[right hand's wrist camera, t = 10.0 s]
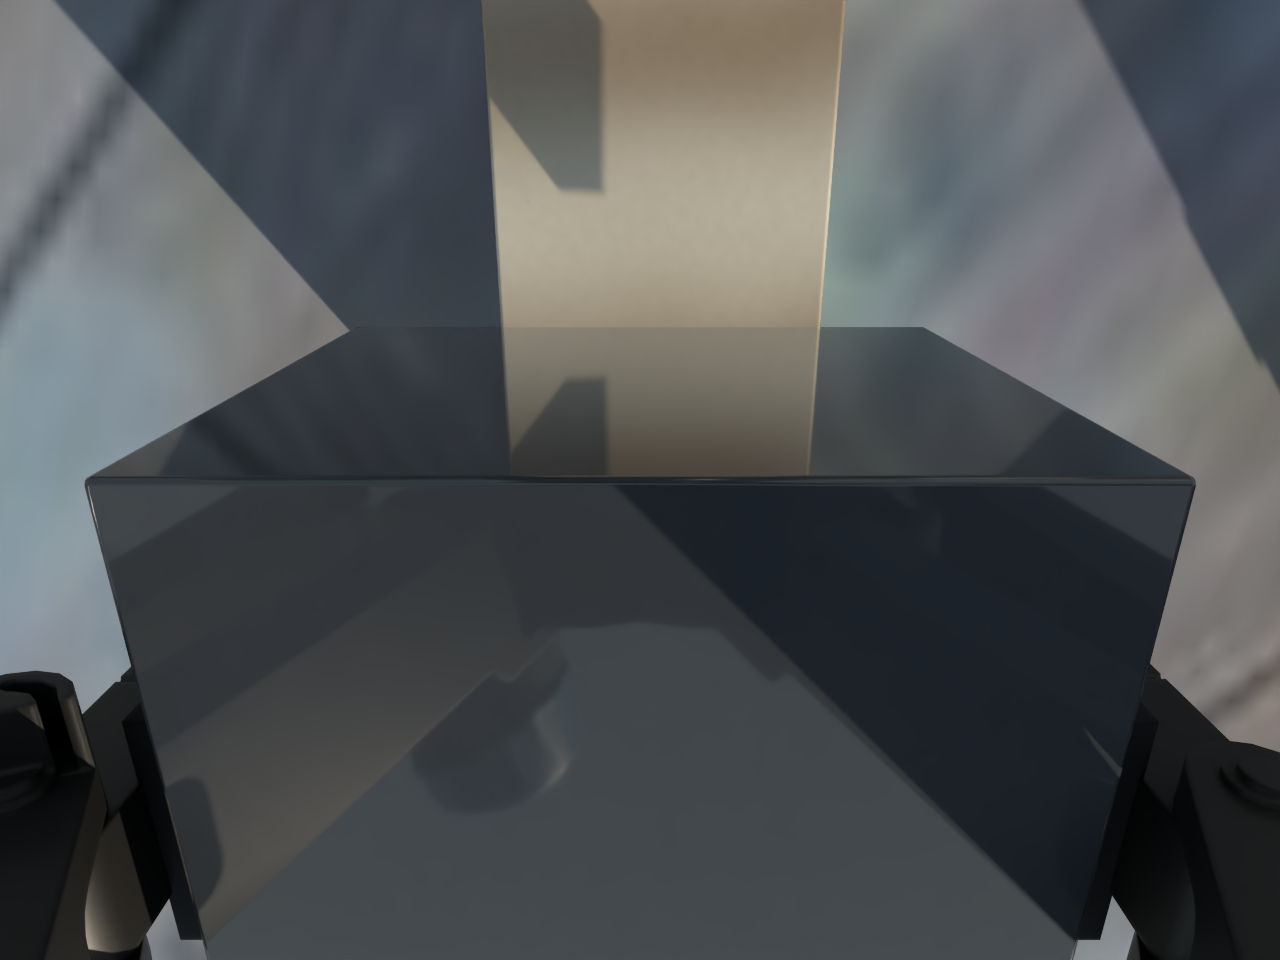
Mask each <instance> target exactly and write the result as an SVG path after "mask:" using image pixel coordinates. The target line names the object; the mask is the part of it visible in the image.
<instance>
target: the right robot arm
mask: <svg viewBox="0 0 1280 960" xmlns="http://www.w3.org/2000/svg"><path fill="white" fill-rule="evenodd" d="M1112 896H1113V897H1114V899H1115V900H1116V902H1117V903H1118V905H1119V906H1120V908H1121V910H1122V911H1123V913H1124V914H1125V916H1126V917H1127V919H1128V920H1129V922H1130V923H1131V925H1132V926H1133V928H1134V930H1135V932H1134V936H1133V939H1132V943H1131V946H1130V950H1129V953H1128V957H1127V960H1280V752H1276V751H1273V750H1270V749H1267V748H1263V747H1260V746H1257V745H1254V744H1249V743H1241V742H1233V741H1229V740H1228V739H1227V738H1226V737H1225V736H1224V735H1223V734H1222V733H1221V732H1220V731H1219V730H1218V729H1217V728H1216V727H1215V726H1214V725H1213V724H1212V723H1211V722H1210V721H1209V720H1208V719H1206V718H1205V717H1204V716H1203V715H1202V714H1201V713H1200V712H1199V711H1198V710H1197V709H1196V708H1195V707H1194V706H1193V705H1192V704H1191V703H1190V702H1189V701H1188V700H1187V699H1186V698H1185V697H1184V696H1183V695H1182V694H1181V693H1180V692H1179V691H1178V690H1177V689H1176V688H1175V687H1173V686H1172V685H1171V684H1170V683H1169V682H1168V681H1167V680H1166V679H1161V677H1160V673H1159V672H1158V671H1157V670H1156V669H1155V668H1154V667H1153V666H1152V665H1151V664H1149V668H1148V672H1147V676H1146V680H1145V683H1144V687H1143V691H1142V695H1141V699H1140V703H1139V707H1138V710H1137V714H1136V718H1135V722H1134V726H1133V730H1132V734H1131V737H1130V741H1129V745H1128V749H1127V753H1126V757H1125V761H1124V764H1123V768H1122V772H1121V776H1120V780H1119V784H1118V788H1117V791H1116V795H1115V799H1114V803H1113V807H1112V811H1111V815H1110V818H1109V822H1108V826H1107V830H1106V834H1105V838H1104V842H1103V845H1102V849H1101V853H1100V857H1099V861H1098V865H1097V869H1096V872H1095V876H1094V880H1093V884H1092V888H1091V892H1090V896H1089V899H1088V903H1087V907H1086V911H1085V915H1084V919H1083V923H1082V926H1081V930H1080V934H1079V938H1078V940H1100V938H1101V934H1102V931H1103V927H1104V923H1105V920H1106V916H1107V912H1108V909H1109V905H1110V901H1111V897H1112ZM168 899H170V902H171V906H172V910H173V914H174V917H175V921H176V925H177V928H178V932H179V936H180V939H181V940H202V937H201V933H200V929H199V925H198V921H197V917H196V913H195V910H194V906H193V902H192V898H191V894H190V890H189V886H188V883H187V879H186V875H185V871H184V867H183V863H182V859H181V856H180V852H179V848H178V844H177V840H176V836H175V833H174V829H173V825H172V821H171V817H170V813H169V809H168V806H167V802H166V798H165V794H164V790H163V786H162V782H161V779H160V775H159V771H158V767H157V763H156V759H155V755H154V752H153V748H152V744H151V740H150V736H149V732H148V728H147V725H146V721H145V717H144V713H143V709H142V705H141V701H140V698H139V694H138V690H137V686H136V682H135V678H134V674H133V671H132V667H130V668H129V669H128V670H127V671H126V672H125V673H124V674H123V675H122V676H121V681H120V682H115V683H114V684H113V685H112V686H111V687H110V688H109V689H108V690H107V691H106V692H105V693H104V694H103V695H102V696H101V697H100V698H99V699H98V700H97V701H96V702H95V703H94V704H93V705H92V706H91V707H90V708H89V709H87V710H86V711H85V712H84V713H83V714H82V712H81V709H80V706H79V702H78V699H77V695H76V692H75V688H74V685H73V682H72V681H70V680H69V679H67V678H66V677H64V676H63V675H61V674H59V673H51V672H42V671H30V672H21V673H11V674H5V675H1V676H0V960H152V956H151V950H150V946H149V943H148V939H147V936H146V933H147V932H148V930H149V929H150V927H151V926H152V924H153V923H154V921H155V919H156V918H157V916H158V915H159V913H160V912H161V910H162V909H163V907H164V906H165V904H166V902H167V901H168Z"/></svg>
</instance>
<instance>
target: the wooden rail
mask: <svg viewBox="0 0 1280 960" xmlns="http://www.w3.org/2000/svg"><path fill="white" fill-rule="evenodd" d="M845 5H846V0H481V8H482V24H483V40H484V57H485V73H486V89H487V106H488V122H489V138H490V155H491V171H492V187H493V204H494V220H495V236H496V253H497V269H498V285H499V302H500V318H501V327H820V322H821V309H822V296H823V284H824V271H825V258H826V246H827V233H828V220H829V208H830V195H831V182H832V170H833V157H834V144H835V132H836V119H837V106H838V94H839V81H840V68H841V56H842V43H843V30H844V18H845Z"/></svg>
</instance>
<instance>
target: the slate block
mask: <svg viewBox="0 0 1280 960" xmlns="http://www.w3.org/2000/svg"><path fill="white" fill-rule="evenodd" d="M1195 487H1196V483H1195V479H1194V478H1193V477H1192V476H1190V475H1188V474H1186V473H1185V472H1183V471H1181V470H1179V469H1177V468H1176V467H1174V466H1172V465H1170V464H1168V463H1167V462H1165V461H1163V460H1161V459H1159V458H1158V457H1156V456H1154V455H1152V454H1150V453H1149V452H1147V451H1145V450H1143V449H1141V448H1140V447H1138V446H1136V445H1134V444H1132V443H1131V442H1129V441H1127V440H1125V439H1124V438H1122V437H1120V436H1118V435H1116V434H1115V433H1113V432H1111V431H1109V430H1107V429H1106V428H1104V427H1102V426H1100V425H1098V424H1097V423H1095V422H1093V421H1091V420H1089V419H1088V418H1086V417H1084V416H1082V415H1080V414H1079V413H1077V412H1075V411H1073V410H1071V409H1070V408H1068V407H1066V406H1064V405H1062V404H1061V403H1059V402H1057V401H1055V400H1053V399H1052V398H1050V397H1048V396H1046V395H1044V394H1043V393H1041V392H1039V391H1037V390H1035V389H1034V388H1032V387H1030V386H1028V385H1026V384H1025V383H1023V382H1021V381H1019V380H1018V379H1016V378H1014V377H1012V376H1010V375H1009V374H1007V373H1005V372H1003V371H1001V370H1000V369H998V368H996V367H994V366H992V365H991V364H989V363H987V362H985V361H983V360H982V359H980V358H978V357H976V356H974V355H973V354H971V353H969V352H967V351H965V350H964V349H962V348H960V347H958V346H956V345H955V344H953V343H951V342H949V341H947V340H946V339H944V338H942V337H940V336H938V335H937V334H935V333H933V332H931V331H929V330H928V329H926V328H924V327H357V328H354V329H353V330H351V331H349V332H347V333H345V334H344V335H342V336H340V337H338V338H336V339H335V340H333V341H331V342H329V343H327V344H326V345H324V346H322V347H320V348H318V349H317V350H315V351H313V352H311V353H309V354H308V355H306V356H304V357H302V358H301V359H299V360H297V361H295V362H293V363H292V364H290V365H288V366H286V367H284V368H283V369H281V370H279V371H277V372H275V373H274V374H272V375H270V376H268V377H266V378H265V379H263V380H261V381H259V382H258V383H256V384H254V385H252V386H250V387H249V388H247V389H245V390H243V391H241V392H240V393H238V394H236V395H234V396H232V397H231V398H229V399H227V400H225V401H223V402H222V403H220V404H218V405H216V406H215V407H213V408H211V409H209V410H207V411H206V412H204V413H202V414H200V415H198V416H197V417H195V418H193V419H191V420H189V421H188V422H186V423H184V424H182V425H180V426H179V427H177V428H175V429H173V430H172V431H170V432H168V433H166V434H164V435H163V436H161V437H159V438H157V439H155V440H154V441H152V442H150V443H148V444H146V445H145V446H143V447H141V448H139V449H137V450H136V451H134V452H132V453H130V454H129V455H127V456H125V457H123V458H121V459H120V460H118V461H116V462H114V463H112V464H111V465H109V466H107V467H105V468H103V469H102V470H100V471H98V472H96V473H94V474H93V475H91V476H89V477H87V478H86V480H85V489H86V493H87V497H88V501H89V505H90V509H91V513H92V516H93V520H94V524H95V528H96V532H97V536H98V540H99V543H100V547H101V551H102V555H103V559H104V563H105V567H106V570H107V574H108V578H109V582H110V586H111V590H112V594H113V597H114V601H115V605H116V609H117V613H118V617H119V621H120V624H121V628H122V632H123V636H124V640H125V644H126V647H127V651H128V655H129V659H130V663H131V667H132V671H133V674H134V678H135V682H136V686H137V690H138V694H139V698H140V701H141V705H142V709H143V713H144V717H145V721H146V725H147V728H148V732H149V736H150V740H151V744H152V748H153V752H154V755H155V759H156V763H157V767H158V771H159V775H160V779H161V782H162V786H163V790H164V794H165V798H166V802H167V806H168V809H169V813H170V817H171V821H172V825H173V829H174V833H175V836H176V840H177V844H178V848H179V852H180V856H181V859H182V863H183V867H184V871H185V875H186V879H187V883H188V886H189V890H190V894H191V898H192V902H193V906H194V910H195V913H196V917H197V921H198V925H199V929H200V933H201V937H202V940H203V944H204V948H205V952H206V956H207V960H1073V957H1074V953H1075V950H1076V946H1077V942H1078V938H1079V934H1080V930H1081V926H1082V923H1083V919H1084V915H1085V911H1086V907H1087V903H1088V899H1089V896H1090V892H1091V888H1092V884H1093V880H1094V876H1095V872H1096V869H1097V865H1098V861H1099V857H1100V853H1101V849H1102V845H1103V842H1104V838H1105V834H1106V830H1107V826H1108V822H1109V818H1110V815H1111V811H1112V807H1113V803H1114V799H1115V795H1116V791H1117V788H1118V784H1119V780H1120V776H1121V772H1122V768H1123V764H1124V761H1125V757H1126V753H1127V749H1128V745H1129V741H1130V737H1131V734H1132V730H1133V726H1134V722H1135V718H1136V714H1137V710H1138V707H1139V703H1140V699H1141V695H1142V691H1143V687H1144V683H1145V680H1146V676H1147V672H1148V668H1149V664H1150V660H1151V656H1152V653H1153V649H1154V645H1155V641H1156V637H1157V633H1158V629H1159V626H1160V622H1161V618H1162V614H1163V610H1164V606H1165V602H1166V599H1167V595H1168V591H1169V587H1170V583H1171V579H1172V575H1173V572H1174V568H1175V564H1176V560H1177V556H1178V552H1179V548H1180V545H1181V541H1182V537H1183V533H1184V529H1185V525H1186V521H1187V518H1188V514H1189V510H1190V506H1191V502H1192V498H1193V494H1194V490H1195Z"/></svg>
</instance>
